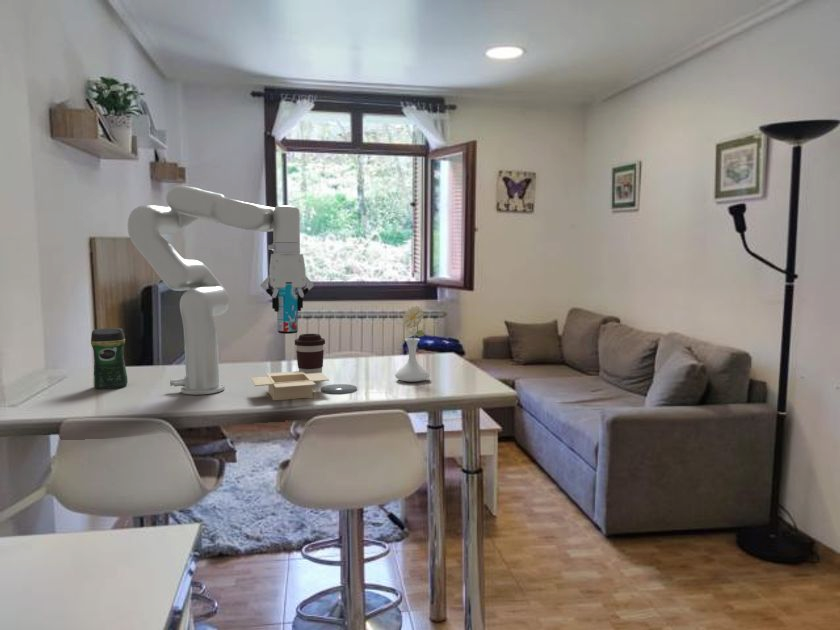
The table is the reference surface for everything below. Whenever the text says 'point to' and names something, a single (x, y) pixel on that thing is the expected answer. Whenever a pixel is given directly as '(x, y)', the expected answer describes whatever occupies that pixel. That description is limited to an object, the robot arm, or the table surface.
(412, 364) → the flower in vase
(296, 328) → the beverage can
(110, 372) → the coffee jar
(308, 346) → the coffee cup
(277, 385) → the carton
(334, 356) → the table surface
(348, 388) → the coaster
